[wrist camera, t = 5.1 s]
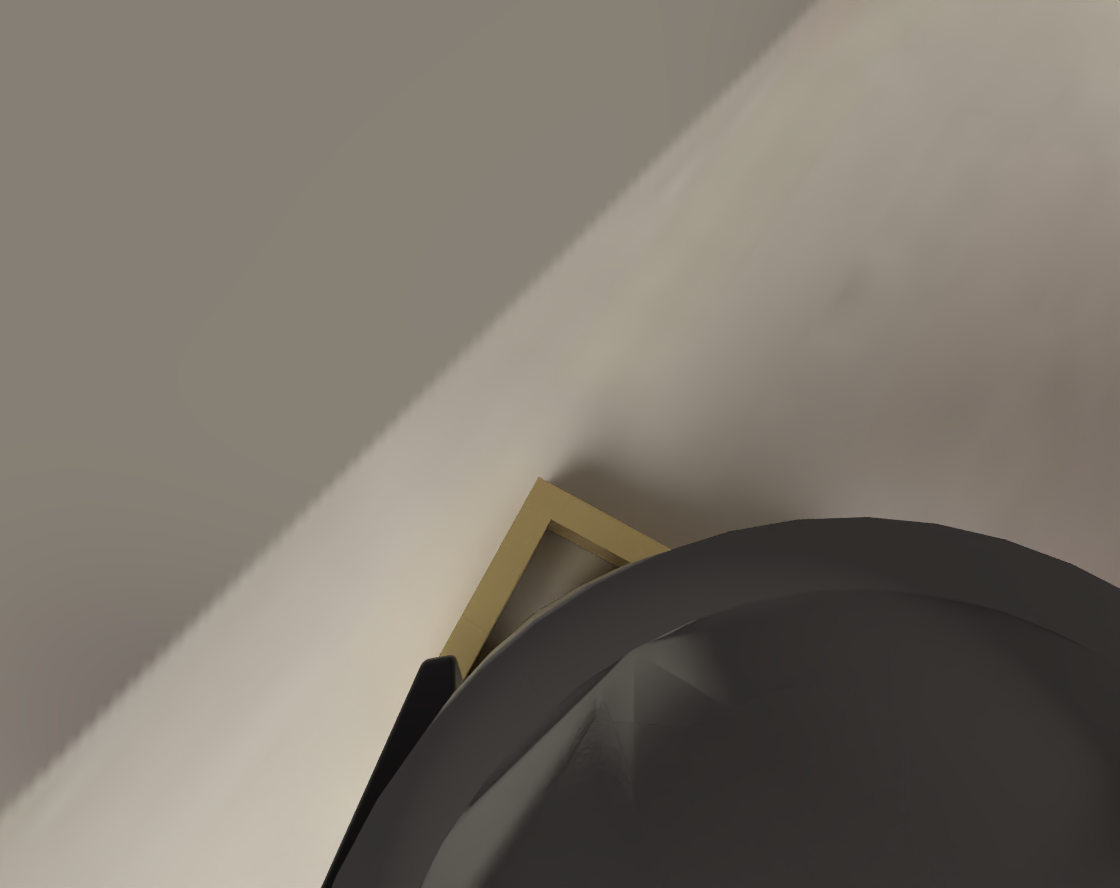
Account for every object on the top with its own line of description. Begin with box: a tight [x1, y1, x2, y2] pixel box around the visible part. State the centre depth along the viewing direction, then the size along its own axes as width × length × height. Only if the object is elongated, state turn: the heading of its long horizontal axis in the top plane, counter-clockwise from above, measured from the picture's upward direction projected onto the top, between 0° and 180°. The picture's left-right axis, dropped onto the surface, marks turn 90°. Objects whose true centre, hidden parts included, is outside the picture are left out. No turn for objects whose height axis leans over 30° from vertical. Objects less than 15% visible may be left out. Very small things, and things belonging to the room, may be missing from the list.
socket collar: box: [439, 477, 672, 682], centre depth 17 cm, size 7×7×2 cm
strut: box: [332, 517, 1120, 888], centre depth 10 cm, size 5×5×14 cm
